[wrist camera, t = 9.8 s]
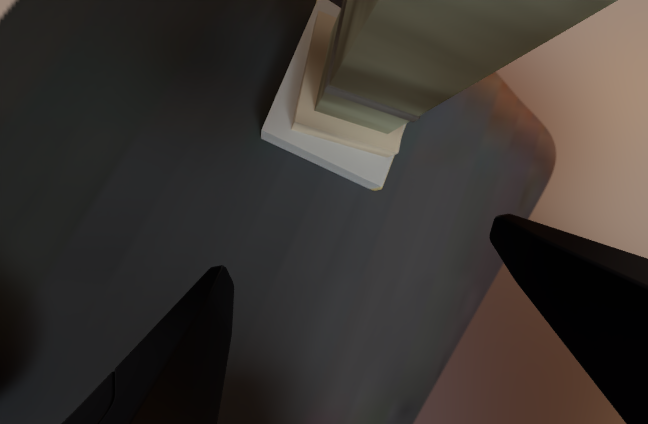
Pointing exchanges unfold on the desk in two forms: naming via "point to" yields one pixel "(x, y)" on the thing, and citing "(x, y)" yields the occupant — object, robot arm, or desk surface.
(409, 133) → the desk surface
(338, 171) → the plate
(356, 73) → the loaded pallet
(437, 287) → the desk surface
